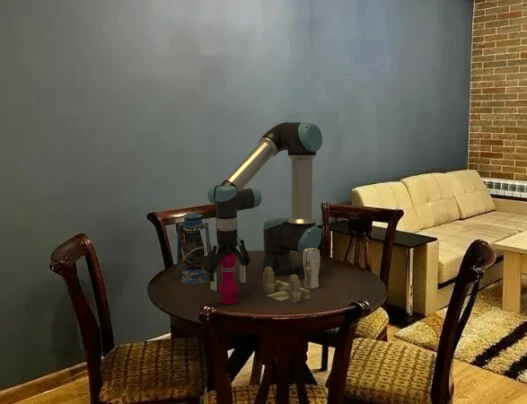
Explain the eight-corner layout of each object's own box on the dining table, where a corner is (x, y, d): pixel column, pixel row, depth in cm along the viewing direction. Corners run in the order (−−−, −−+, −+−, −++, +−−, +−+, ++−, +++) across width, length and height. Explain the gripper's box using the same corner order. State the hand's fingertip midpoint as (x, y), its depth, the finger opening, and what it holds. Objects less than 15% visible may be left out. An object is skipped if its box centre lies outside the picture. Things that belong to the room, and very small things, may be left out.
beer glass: (321, 284, 222) (321, 248, 220) (317, 289, 216) (317, 252, 213) (305, 283, 224) (304, 247, 222) (300, 288, 218) (300, 251, 215)
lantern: (172, 283, 227) (169, 211, 223) (182, 274, 239) (179, 206, 234) (208, 284, 224) (205, 212, 219) (216, 276, 236) (214, 207, 231)
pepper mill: (219, 298, 207) (217, 247, 204) (238, 298, 208) (237, 246, 204) (219, 305, 200) (217, 251, 197) (239, 304, 200) (237, 251, 197)
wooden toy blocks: (258, 293, 213) (257, 267, 211) (278, 287, 219) (278, 262, 218) (289, 304, 199) (289, 277, 198) (310, 298, 206) (310, 272, 204)
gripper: (204, 235, 189) (206, 295, 192) (259, 225, 204) (260, 281, 208) (192, 232, 194) (194, 290, 198) (247, 222, 210) (248, 276, 213)
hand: (228, 285), depth 203 cm, fingers open, 12 cm apart
